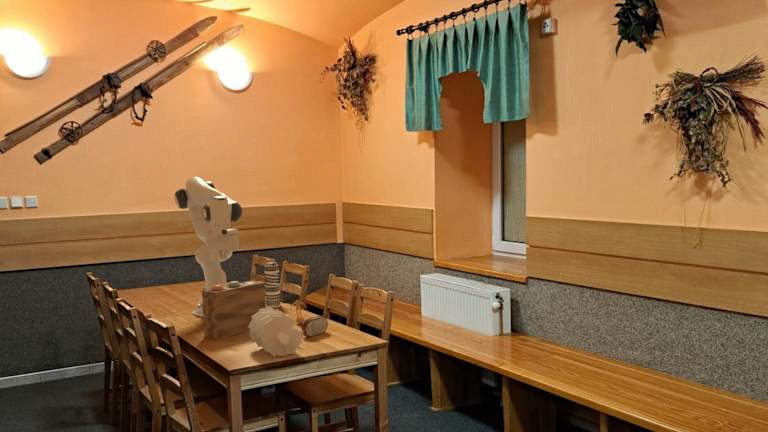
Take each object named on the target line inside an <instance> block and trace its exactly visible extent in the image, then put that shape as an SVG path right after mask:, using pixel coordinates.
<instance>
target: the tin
mask: <svg viewBox="0 0 768 432" xmlns="http://www.w3.org/2000/svg"><path fill="white" fill-rule="evenodd" d="M327 319H328V318H326V316H325V317H324V316H322V315H316V316H313V317H309V318H307V319H304V322H303V323H302V324H301V331H303V335H302V336H304V337H308V338H312V337H315V336H319V335H322V334H324V333H326V331H327V329H328V320H327Z"/></svg>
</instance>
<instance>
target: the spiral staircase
mask: <svg viewBox="0 0 768 432" xmlns="http://www.w3.org/2000/svg"><path fill="white" fill-rule="evenodd" d="M251 317H252V321H251V322H250V324H249V326H248V328H250V331H249V338H251V340H252V343H253V344H254V343H256V345H257V347H258V348H263V350H264V352H265V353H266V352H267V353H269V354H270V355H271V356H273V357H274V358H275V357H277V356H279V357H284V358H285V357H287V355H290V354H292V353H295V352H297V348H299V346H300V345H301V344H302V343H303V341H302V339H303V336H304V335H303V331H302V330H300V329H298V328H295V326H296V325H297V323H296V321H295V320H294V318H293V316H290V315H289V314H285V313H284V312H282V310H279V308H276V309H275V308H271V307H268V308H266V309H259V312H258V313H256V314H254V315H253V316H251Z"/></svg>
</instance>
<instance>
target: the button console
mask: <svg viewBox="0 0 768 432" xmlns="http://www.w3.org/2000/svg"><path fill="white" fill-rule="evenodd" d="M248 282H255V283H254V284H250V285H249V284H245V283H248ZM264 283H265V281H256V280H248V281H247V280H246V281H244V282H239V287H235V288H230V287H229V284H228V285H226V286H223V290H221V291H212V289H208V290H205V289H202V291H201V293H202V294H201V295H202V297H201V298H203V317H202V318H203V330H204V333H203V334H204V338H208V339H214V340H222V339H226V338H229V337H230V338H231V337H233V336H236V335H239V334H244V333H247V332H250V328H248V326H249V324H250V322H251V321H252V317H251V316H253V315H254V314H256V313H258V312H259V309H267V307H266V298H265V297H266V296H265V295H266V287H265V284H264Z"/></svg>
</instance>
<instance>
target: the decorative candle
mask: <svg viewBox="0 0 768 432" xmlns="http://www.w3.org/2000/svg"><path fill="white" fill-rule="evenodd" d="M280 274H281V272H280V271H279V264H278V263H277V262H275V261H267V262H266V263H265V264H264V272H263V282H264V284H265V304H266V309H268V307H271V308H273V309H275V308H279V307H282V305H281V303H282V302H281V301H282V300H281V292H280V286H281V284H280V283H281V281H280V280H281V278H279V277H281V275H280Z"/></svg>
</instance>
